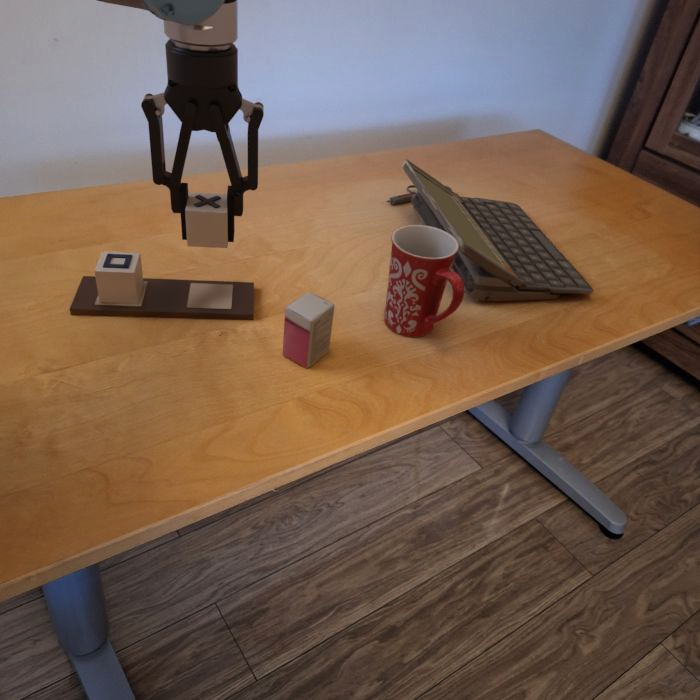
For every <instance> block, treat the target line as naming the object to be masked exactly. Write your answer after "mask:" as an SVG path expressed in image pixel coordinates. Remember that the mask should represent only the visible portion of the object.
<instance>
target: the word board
mask: <svg viewBox="0 0 700 700" xmlns="http://www.w3.org/2000/svg"><path fill="white" fill-rule="evenodd" d="M143 282H144V284H143V288H142V291H141V295H140V299H139V302H138V304H134V303H103V302H100V301H99V295H98V289H97V283H96V278H95V275H83V276H82V277H81V280H80V282H79V285H78V287H77V290H76V292H75V295H74V297H73V300H72V302H71V305H70V307H69V313H70V315H73V316H74V315H75V316H109V317H137V318H138V317H139V318H140V317H142V318H143V317H145V318H173V319H175V318H177V319H180V318H181V319H210V320H241V321H242V320H243V321H253V320H254V302H255V301H254V300H255V298H254V297H255V296H254V295H255V293H254V292H255V283H254V282H253V281H252V282H251V281H229V280H228V281H227V280H226V281H225V280H202V279H201V280H200V279H199V280H197V279H173V278H149V277H147V278H145V277H143Z"/></svg>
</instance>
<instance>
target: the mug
mask: <svg viewBox="0 0 700 700" xmlns="http://www.w3.org/2000/svg"><path fill="white" fill-rule="evenodd" d="M390 239H391V253H390V259H389V270H388V279H387V288H386V299H385V307H384V316H383V320H384V323H385V325H386V326H387V328H388V329H389V330H390V331H392V332H394V333H396V334H398V335H401V336H403V337H404V336H405V337H409V338H419V337H423V336H426V335H429V334H430V333H431V332H432V331H433V329H434V326H435V324H438V323H439V322H441V321H443V320H446V319H447V318H448V317H450V316H451V315H453V314H454V313H455V312H456V311H457V310H458V309H459V307H460V306H461V304H462V301H463V299H464V294H465V290H464V284H463V281H462V279H461V277H460V276H459V275H458V274H457V273H456V272H454V271H452V269H451V267H452V264H453V261H454V257H455V254H456V253H457V251H458V249H459V244H458V242H457V240H456V239H455V238H454V237H453V236H452V235H450V234H449V233H447V232H445V231H443V230H441V229H438V228H435V227H431V226H425V225H423V224H408V225H404V226H401V227H398V228H397V229H395V230H394V231H393V232H392V233H391V237H390ZM448 282H449V284H450V285H451V288H452V297H451V301H450V304H449V306H448V307H447V308H446V309H445V310H444V311H443V312H441V313H440V314H439V310H440V306H441V303H442V300H443V296H444V293H445V289H446V286H447V283H448Z"/></svg>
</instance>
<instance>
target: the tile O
mask: <svg viewBox="0 0 700 700" xmlns="http://www.w3.org/2000/svg"><path fill="white" fill-rule="evenodd" d="M142 265H143V264H142V256H141V252H127V251H125V252H124V251H105V250H104V251H101V253H100V256H99V258H98V261H97V264H96V266H95V268H94V270H93V271H94V276H95V278H96V283H97V289H98V295H99V301H100V302H103V303H134V304H138V302H139V299H140V295H141V291H142V288H143V284H144V282H143V278H144V274H143V273H144V272H143V266H142Z"/></svg>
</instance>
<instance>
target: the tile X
mask: <svg viewBox="0 0 700 700" xmlns="http://www.w3.org/2000/svg"><path fill="white" fill-rule="evenodd" d="M185 217H186V233H187V240H186V246H187V247H195V248H215V249H216V248H217V249H228V248H229V242H228V209H227V193H225V194H224V193H207V192H192V191H191V192H190V191H188V201H187V205H186V209H185Z"/></svg>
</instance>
